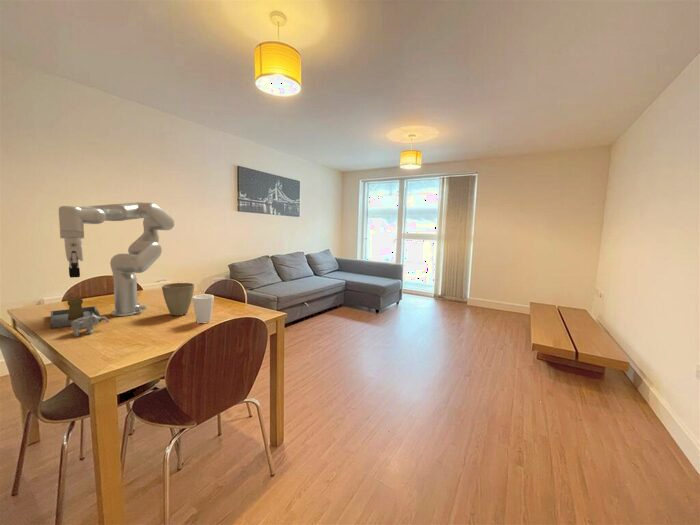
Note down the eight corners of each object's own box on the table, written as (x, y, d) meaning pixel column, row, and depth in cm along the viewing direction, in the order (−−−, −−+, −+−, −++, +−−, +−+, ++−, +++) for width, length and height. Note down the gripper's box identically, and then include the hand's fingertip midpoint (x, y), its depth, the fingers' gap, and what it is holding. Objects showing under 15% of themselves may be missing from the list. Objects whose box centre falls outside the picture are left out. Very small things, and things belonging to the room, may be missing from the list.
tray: (100, 321, 137) (100, 316, 137) (50, 328, 126) (50, 323, 125) (95, 310, 154) (95, 306, 153) (51, 316, 142) (50, 311, 141)
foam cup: (217, 320, 147) (217, 296, 145) (201, 325, 138) (201, 299, 137) (205, 317, 150) (204, 293, 149) (188, 322, 142) (188, 296, 141)
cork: (74, 319, 138) (73, 296, 137) (88, 319, 139) (87, 297, 138) (63, 322, 132) (62, 299, 131) (77, 323, 133) (76, 299, 132)
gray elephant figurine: (67, 334, 121) (64, 317, 120) (101, 325, 132) (99, 309, 130) (78, 339, 117) (76, 321, 116) (112, 329, 128) (110, 312, 127)
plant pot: (199, 310, 162) (199, 283, 160) (185, 318, 147) (185, 288, 146) (172, 309, 162) (172, 282, 160) (155, 317, 147) (155, 287, 145)
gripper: (85, 236, 122) (87, 278, 124) (82, 234, 133) (84, 273, 135) (60, 235, 116) (63, 280, 118) (59, 234, 128) (62, 274, 130)
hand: (74, 276), depth 127 cm, fingers open, 4 cm apart
